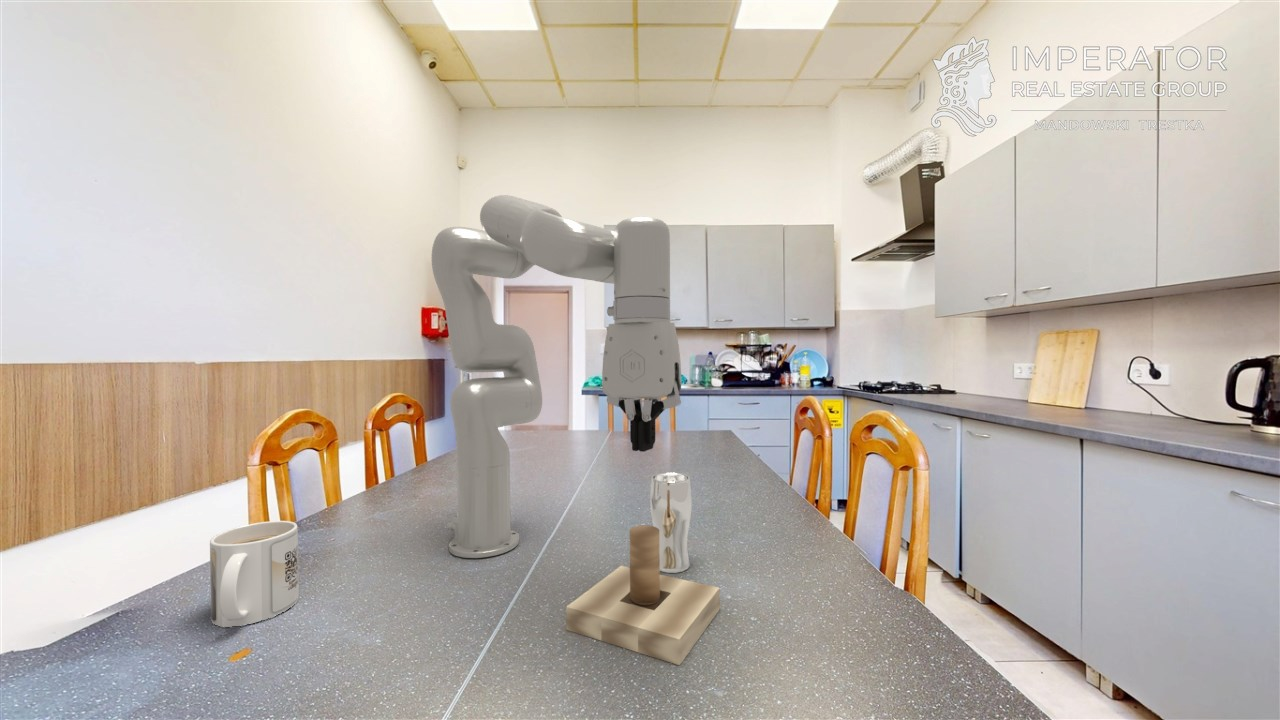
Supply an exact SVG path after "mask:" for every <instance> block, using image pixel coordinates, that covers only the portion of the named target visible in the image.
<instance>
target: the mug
mask: <svg viewBox="0 0 1280 720" xmlns="http://www.w3.org/2000/svg"><path fill="white" fill-rule="evenodd" d="M298 529H299V527H298V524H297V523H296V522H293V521H290V520H272V521H271V520H270V521H260V522H255V523H250V524H245V525H241V526H238V527H234V528H231V529H228V530H224V531H222V532H220V533H218V534H216V535H214V536H213V537H211V539H210V540H209V560H210V561H209V569H210V570H209V571H210V572H209V574H210V576H209V577H210V582H209V583H210V621H212V622H211V623H212V624H213V623H214V624H215V625H218V626H224V627H223V628H225V627H230V628H232V627H231V626H240V625H244V624H249V623H254V622H257V621H261V620H264V619H267V618H269V617H272V616H274V615H277V614H278V613H281V612H283V611H285V610H287V609H288V608H290V607H291V606H293V605H294V604H295V603H296V602H299V596H300V595H299V594H300V592H299V590H300V589H299V532H298V531H299V530H298ZM296 604H297V603H296ZM296 604H295V605H296ZM295 605H294V606H295ZM294 606H293V607H294ZM214 624H213V625H214ZM215 625H214V626H215ZM218 626H217V627H218Z"/></svg>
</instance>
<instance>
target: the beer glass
mask: <svg viewBox="0 0 1280 720" xmlns="http://www.w3.org/2000/svg"><path fill="white" fill-rule="evenodd" d="M650 478H651V479H650V480H651V481H650V495H649V497H650V498H649V499H650V501H649V503H650V504H649V505H650V506H649V507H650V508H649V509H650V513H651V514H650V517H651V522H652V526H654V527H656V528H658V529H659V551H660V573H667V574H679V573H682V572H685V571H687V570H688V569H689V568H690V560H689V559H690V558H689V554H688V537H689V529H690V524H691V523H690V522H691V518H692V517H691V516H692V488H691V477H690V476H689V475H688V474H686V473H682V472H681V473H680V472H661V473H656V474H653V475H651V477H650Z"/></svg>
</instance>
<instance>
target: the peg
mask: <svg viewBox="0 0 1280 720" xmlns="http://www.w3.org/2000/svg"><path fill="white" fill-rule="evenodd" d="M629 568H630V601H631V602H632V605H636V606H640V607H643V608H647V609H651V610H655V609H656V608H657V607H658V602H659V601H660V575H661V571H660V551H659V529H658V528H656V527H654V526H653V525H645V524H644V525H637V526H633V527H631V528H630V529H629Z"/></svg>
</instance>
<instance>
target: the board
mask: <svg viewBox="0 0 1280 720" xmlns="http://www.w3.org/2000/svg"><path fill="white" fill-rule="evenodd" d="M720 595H721V588H720V587H718V586H713V585H708V584H704V583H701V582H700V583H699V582H695V581H691V580H688V579H687V580H686V579H681V578H677V577H673V576H668V575H663V574H660V601H659V602H658V607H657V608H656V609H655V610H651V609H647V608H643V607H640V606H636V605H632V602H631V601H630V566H625V565H620V566H619V567H617V568H616V569H614V570H613V571H612V572H611V573H609V574H608V575H606V576H605V577H604V578H603V579H601V580H600V581H598V582H597V583H596V584H594V585H593V586H592V587H591V588H589V589H588V590H586V591H585V592H584V593H582V594H581V595H580V596H579V597H577V598H576V599H575V600H573V601H572V602H571V603H569V604H567V606H566V607H565V610H566V611H565V613H566V614H565V615H566V616H565V617H566V618H565V619H566V622H565V623H566V625H565V628H566V631H569V632H571V633H575V634H579V635H582V636H584V637H588V638H592V639H595V640H597V641H598V640H599V641H601V642H604V643H607V644H611V645H613V646H617V647H620V648H623V649H627V650H629V651H632V652H636V653H638V654H642V655H645V656H649V657H652V658H654V659H658V660H660V661H664V662H667V663H670V664H674V665H676V666H680V665H681V664H682V663H683V662H684V660H685V659H686V657H687V656H688V654H689V653H690V652H691V651H692V649H693V647H694V646H695V645H696V644H697V642H698V641H699V639H700V638H701V636H702V635H703V634H704V632H705V631H706V630H707V628H708V627H709V625H710V624H711V622H713V619H714V618H715V617H716V616H717V614H718V613H719V611H720V610H721V597H720Z"/></svg>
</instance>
